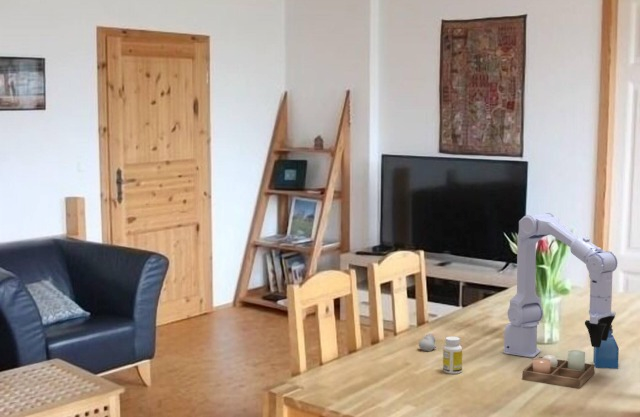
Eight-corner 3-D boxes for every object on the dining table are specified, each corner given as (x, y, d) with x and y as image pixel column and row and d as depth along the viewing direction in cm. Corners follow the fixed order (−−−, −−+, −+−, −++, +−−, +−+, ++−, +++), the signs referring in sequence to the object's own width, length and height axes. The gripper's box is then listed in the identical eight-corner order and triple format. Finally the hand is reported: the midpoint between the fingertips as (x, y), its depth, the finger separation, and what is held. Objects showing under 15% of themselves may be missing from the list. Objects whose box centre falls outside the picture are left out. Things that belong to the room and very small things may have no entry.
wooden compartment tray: (522, 379, 240) (522, 370, 239) (539, 364, 253) (539, 356, 253) (579, 388, 231) (579, 379, 231) (594, 372, 245) (594, 364, 244)
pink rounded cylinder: (530, 378, 240) (530, 361, 240) (535, 374, 244) (535, 357, 244) (547, 381, 238) (547, 363, 237) (552, 376, 242) (552, 359, 241)
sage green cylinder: (565, 375, 243) (565, 353, 242) (570, 371, 247) (571, 349, 246) (581, 378, 240) (582, 355, 239) (586, 373, 244) (587, 351, 243)
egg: (539, 371, 247) (539, 355, 246) (543, 367, 251) (544, 351, 250) (554, 373, 244) (555, 358, 244) (559, 369, 248) (560, 354, 248)
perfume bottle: (618, 368, 248) (619, 328, 247) (595, 367, 250) (596, 327, 248) (615, 362, 254) (616, 323, 253) (593, 361, 256) (594, 322, 254)
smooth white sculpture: (430, 356, 266) (415, 349, 268) (438, 349, 273) (424, 343, 275) (434, 344, 265) (419, 337, 267) (442, 337, 272) (427, 331, 274)
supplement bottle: (463, 369, 249) (463, 336, 248) (460, 375, 244) (460, 341, 243) (444, 367, 251) (445, 335, 249) (441, 373, 246) (441, 339, 244)
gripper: (609, 302, 229) (607, 351, 231) (621, 292, 241) (620, 339, 243) (582, 299, 233) (581, 348, 234) (596, 289, 245) (594, 335, 247)
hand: (599, 343), depth 239 cm, fingers open, 7 cm apart
